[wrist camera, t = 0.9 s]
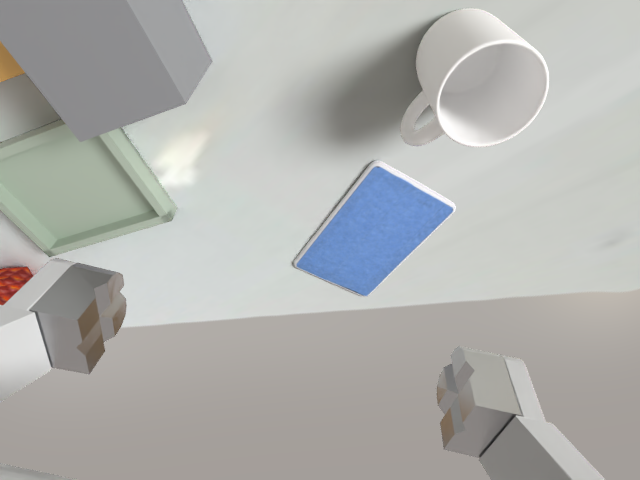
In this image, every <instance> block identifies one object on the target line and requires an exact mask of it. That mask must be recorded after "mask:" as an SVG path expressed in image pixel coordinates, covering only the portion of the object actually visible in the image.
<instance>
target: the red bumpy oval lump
mask: <svg viewBox="0 0 640 480" xmlns="http://www.w3.org/2000/svg"><path fill="white" fill-rule="evenodd" d="M32 277H33V275H32V273H31V272H30V270H29V269H28V267H17V268H2V269H0V305H4V304H5V303H6V302H7V301H8V300H9V299H10V298H11V297H12V296H13V295H14V294H15V293H16V292H18V291H19V290H20V289H21V288H22V287H23V286H24V285H25V284H26V283H27V282H28V281H29V280H30V279H31V278H32Z"/></svg>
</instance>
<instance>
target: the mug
mask: <svg viewBox="0 0 640 480" xmlns="http://www.w3.org/2000/svg"><path fill="white" fill-rule="evenodd" d="M416 72H417V75H418V79H419V82H420V84H421V86H422V89H423V90H422V91H421V92H420V93H419V94H418V95H417V97H416V98H415V99H414V100H413V101H412V103H411V104H410V105H409V107H408V108H407V110H406V112H405V114H404V116H403V119H402V122H401V126H400V132H401V137H402V139H403V140H404V142H405V143H407V144H409V145H411V146H422V145H425V144H428V143H430V142H432V141H433V140H435V139H437V138H438V137H440V136H441V135H443V134H444V133H445V134H446V135H447V136H448V137H449V138H450V139H452V140H453V141H455V142H457V143H459V144H462V145H465V146H470V147H487V146H492V145H496V144H499V143H502V142H504V141H506V140H508V139H510V138H512V137H514V136H515V135H517V134H518V133H520V132H521V131H522V130H523V129H525V128H526V127H527V126H528V125H529V124H530V123H531V122H532V121H533V119H534V118H535V117H536V116H537V114H538V113H539V111H540V110H541V108H542V106H543V104H544V101H545V99H546V96H547V92H548V87H549V73H548V68H547V65H546V62H545V60H544V59H543V57H542V55H541V54H540V53H539V52H538V51H537V50H536V49H535V48H533V47H532V46H531V45H530V44H529V43H527V42H526V41H525V40H524V39H522V38H521V37H520V36H519V35H517V34H516V33H515V32H514V31H513V30H511V29H510V28H509V27H508V26H506V25H505V24H504V23H503V22H501V21H500V20H499V19H498V18H496V17H495V16H494V15H492V14H490V13H488V12H486V11H484V10H480V9H475V8H465V9H459V10H455V11H453V12H450V13H448V14H446V15H445V16H443V17H441V18H440V19H439V20H437V21H436V22H435V23H434V24H433V25H432V26H431V27H430V28H429V29H428V31H427V32H426V34H425V35H424V37H423V38H422V40H421V42H420V45H419V48H418V51H417V56H416ZM429 105H430V106H431V108H432V110H433V112H434V115H435V117H434V118H433V119H432V120H431V121H430V122H429V123H428V124H426V125H425V126H424V127H422V128H421V129H419V130H416V131H415V130H414V127H415V123H416V121H417V119H418V117H419V116H420V114H421V113H422V112H423V111H424V110H425V109H426V107H428V106H429Z"/></svg>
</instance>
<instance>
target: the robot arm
mask: <svg viewBox="0 0 640 480" xmlns="http://www.w3.org/2000/svg"><path fill="white" fill-rule="evenodd" d="M123 286H124V281H123V275H122V274H120V273H118V272H114V271H110V270H106V269H102V268H97V267H93V266H89V265H85V264H81V263H75V262H71V261H67V260H63V259H59V258H55V259H53V260H50V261H49V262H48V263H47V264H45V265H44V266H43V267H42V268H41V269H40V270H39V271H38V272H37V273H36V274H35V275H34V276H33V277H32V278H31V279H30V280H29V281H28V282H27V283H26V284H25V285H24V286H23V287H22V288H21V289H20V290H19V291H18V292H16V293H15V294H14V295H13V296H12V297H11V298H10V299H9V300H8V301H7V302H6V303H5V304H4V305H0V402H2V401H3V400H5V399H6V398H8V397H9V396H11V395H13V394H14V393H16V392H17V391H19V390H20V389H22V388H24V387H25V386H27V385H28V384H30V383H32V382H33V381H35V380H36V379H38V378H39V377H41V376H42V375H44V374H46V373H47V372H49V371H50V370H51V369H52V368H57V369H63V370H68V371H74V372H80V373H85V374H90V373H91V371H92V370H93V368H94V367H95V365H96V364H97V362H98V361H99V359H100V358H101V356H102V355H103V353H104V352H105V348H104V342H105V341H106V340H109V339H110V338H112V337H114V336H115V335H116V334H117V332H118V330H119V329H120V327H121V325H122V323H123V320H124V317H125V314H126V298H125V297H124V296H123V295H122V294H121V293H120V290H121V289H122V287H123ZM451 360H452V364H450V365H448V366H446V367H444V368H443V371H442V372H441V374H440V376H439V380H438V385H437V401H438V406H439V407H440V409H441V410H442V411H443V413H444V414H445V416H444V417H443V419H442V421H441V422H440V425H441V432H442V439H443V447H444V449H445V450H448V451H453V452H457V453H461V454H465V455H469V456H473V457H477V458H480V459H479V461H480V463H481V464H482V466H483V467H484V469H485V471H486V472H487V474H488V475H489V477H490V479H491V480H605V479H604V478H603V477H602V476H601V475H600V474H599V473H598V472H597V470H596V469H595V468H594V467H593V466H592V465H591V464H590V463H589V462H588V461H587V460H586V459H585V458H584V457H583V455H582V454H581V453H580V452H579V451H578V450H577V449H576V448H575V447H574V446H573V445H572V444H571V443H570V442H569V441H568V439H567V438H566V437H565V436H564V435H563V434H562V433H561V432H560V431H559V430H558V429H557V428H556V427H555V426H554V425H553V424H552V423H549V422H546V421H545V418H544V415H543V413H542V410H541V407H540V404H539V401H538V399H537V396H536V393H535V390H534V387H533V385H532V382H531V379H530V376H529V374H528V371H527V368H526V365H525V363H524V362H523V361H522V360H521V359H519V358H514V357H508V356H504V355H498V354H495V353H490V352H485V351H480V350H475V349H470V348H465V347H460V346H458V347H457V348H456V349H455V350H454V351H453V353H452V354H451ZM51 367H52V368H51ZM0 480H78V479H73V478H68V477H63V476H59V475H54V474H49V473H44V472H39V471H34V470H29V469H25V468H20V467H15V466H10V465H5V464H1V463H0Z"/></svg>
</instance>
